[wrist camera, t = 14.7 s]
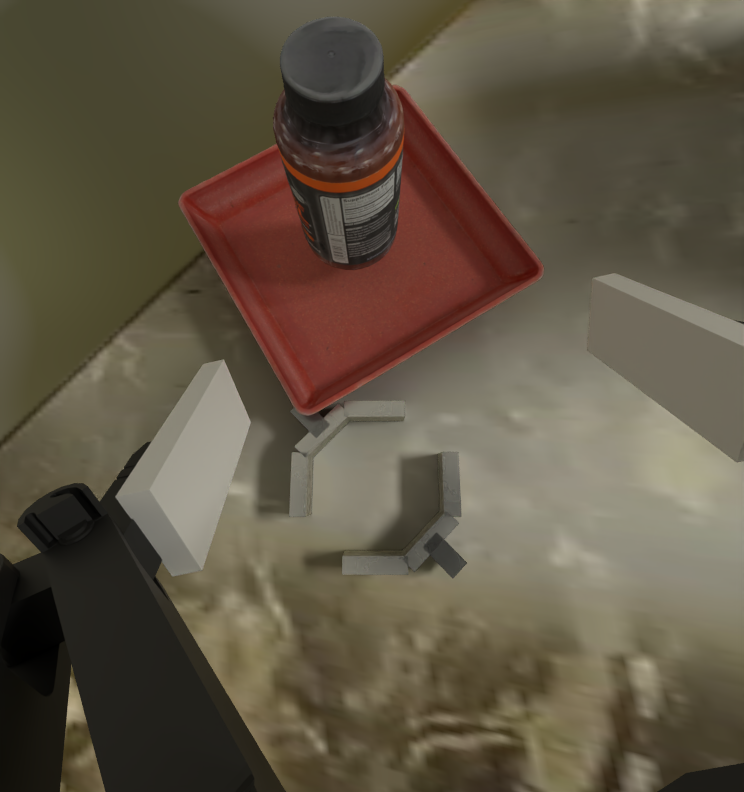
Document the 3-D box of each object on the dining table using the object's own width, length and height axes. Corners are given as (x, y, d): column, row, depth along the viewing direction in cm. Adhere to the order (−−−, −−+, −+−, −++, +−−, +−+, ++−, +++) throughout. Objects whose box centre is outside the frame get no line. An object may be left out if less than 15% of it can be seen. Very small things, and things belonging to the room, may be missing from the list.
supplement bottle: (296, 206, 27) (237, 12, 16) (382, 183, 27) (383, -24, 16) (318, 285, 26) (272, 135, 15) (409, 260, 26) (430, 94, 15)
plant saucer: (193, 225, 31) (170, 194, 27) (396, 117, 32) (398, 76, 29) (311, 429, 27) (301, 421, 24) (532, 296, 29) (551, 273, 26)
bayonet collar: (355, 360, 28) (352, 351, 26) (506, 505, 26) (516, 507, 24) (248, 462, 27) (238, 461, 25) (398, 624, 25) (400, 637, 23)
